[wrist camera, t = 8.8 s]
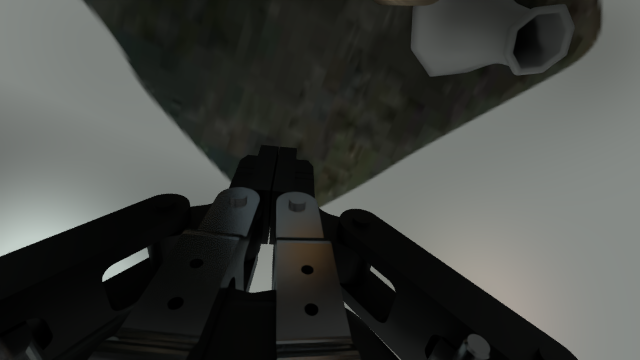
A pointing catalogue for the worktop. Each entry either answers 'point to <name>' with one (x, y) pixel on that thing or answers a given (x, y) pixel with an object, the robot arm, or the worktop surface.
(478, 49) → the flask
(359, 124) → the worktop surface
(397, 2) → the outer post
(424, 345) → the robot arm
